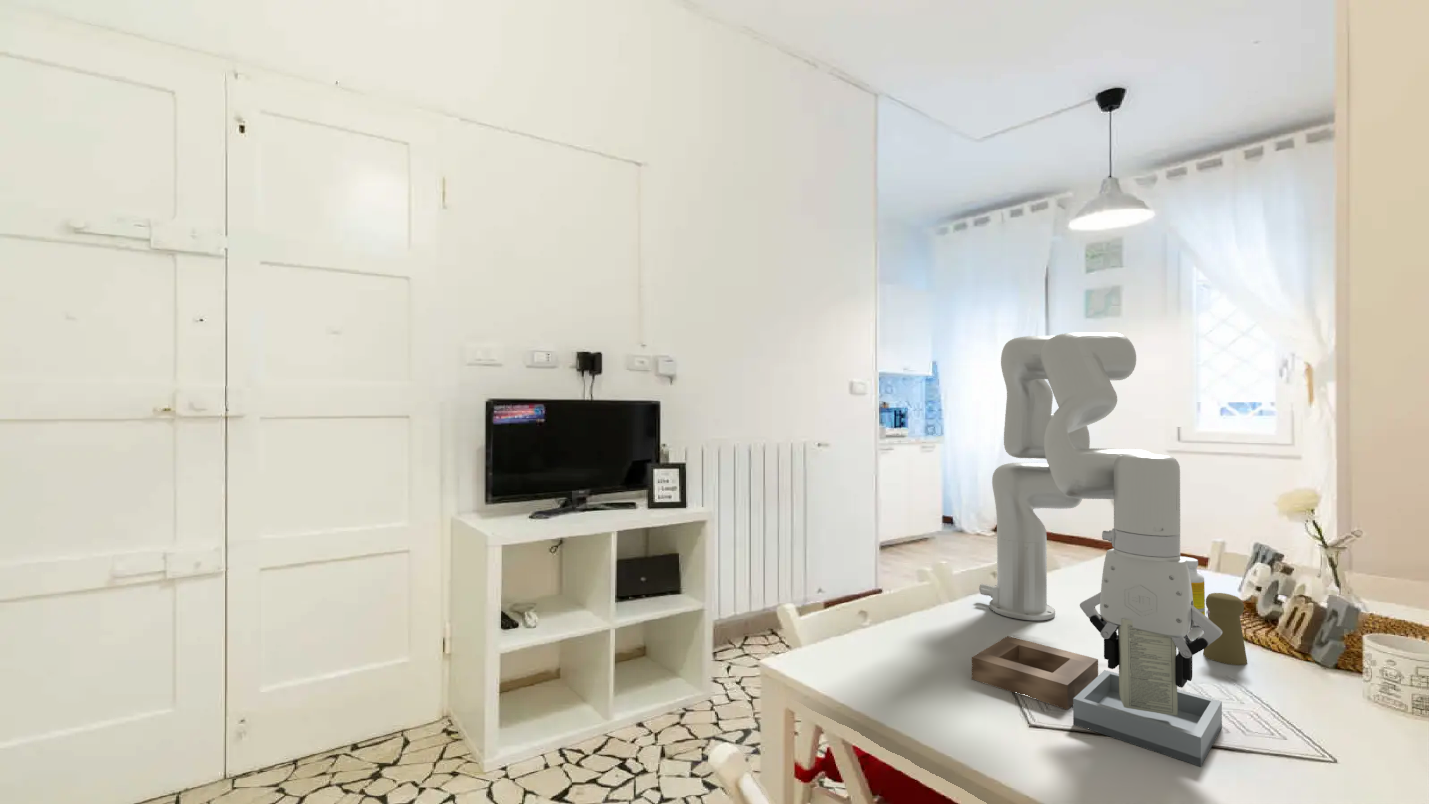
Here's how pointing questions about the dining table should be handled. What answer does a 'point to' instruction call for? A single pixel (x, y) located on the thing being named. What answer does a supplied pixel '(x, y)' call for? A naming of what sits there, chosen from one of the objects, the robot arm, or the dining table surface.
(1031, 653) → the frame
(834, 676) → the dining table surface
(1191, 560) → the supplement bottle
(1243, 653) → the cork
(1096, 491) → the robot arm
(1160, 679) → the skincare box
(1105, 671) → the tray
